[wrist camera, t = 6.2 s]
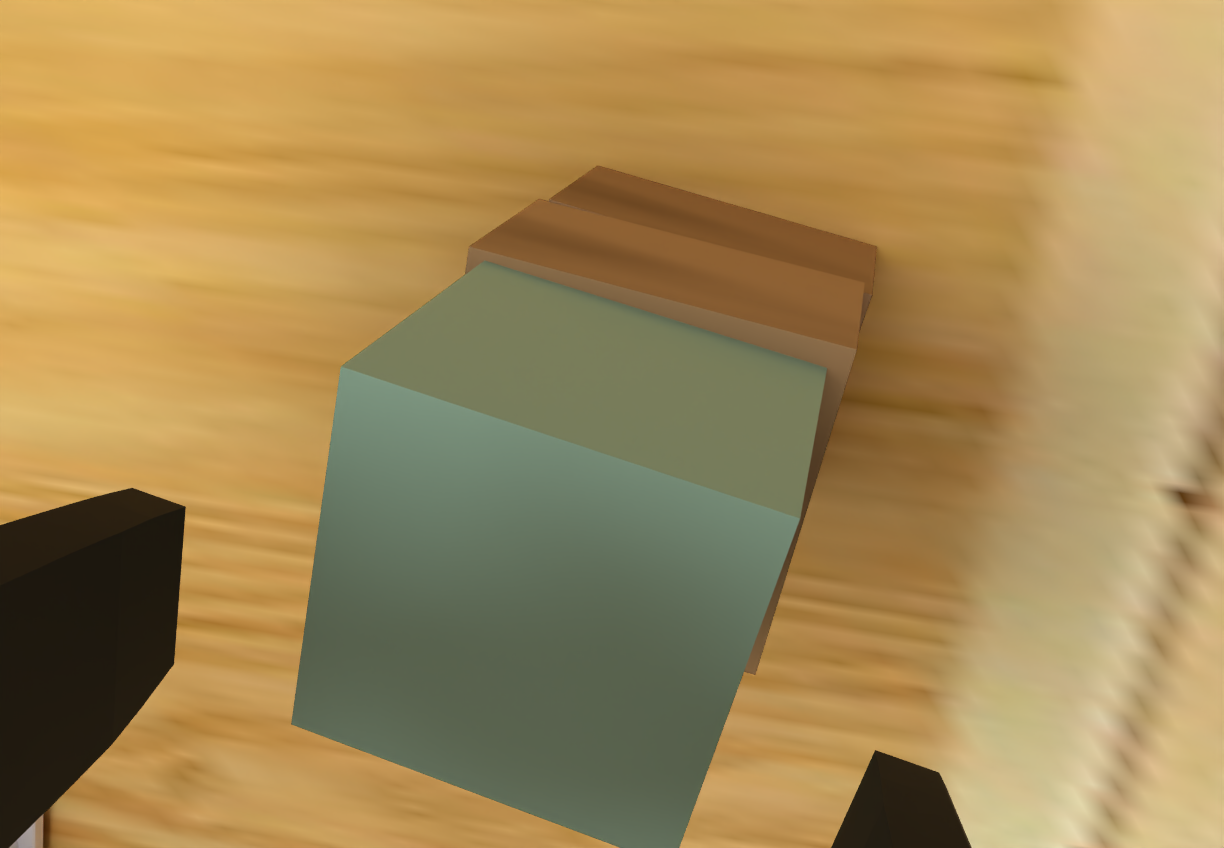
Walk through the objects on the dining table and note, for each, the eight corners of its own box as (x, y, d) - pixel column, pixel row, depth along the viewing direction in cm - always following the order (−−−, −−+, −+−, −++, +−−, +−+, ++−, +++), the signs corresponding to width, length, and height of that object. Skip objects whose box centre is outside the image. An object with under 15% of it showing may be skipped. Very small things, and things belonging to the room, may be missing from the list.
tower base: (790, 494, 21) (773, 574, 18) (542, 414, 21) (491, 480, 19) (876, 245, 19) (872, 295, 16) (598, 164, 19) (549, 199, 17)
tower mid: (777, 567, 18) (755, 675, 15) (492, 483, 19) (423, 572, 16) (864, 282, 16) (856, 349, 13) (538, 199, 17) (469, 246, 14)
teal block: (725, 654, 15) (671, 866, 12) (429, 550, 16) (291, 723, 12) (827, 368, 13) (799, 518, 10) (484, 260, 14) (340, 365, 10)
